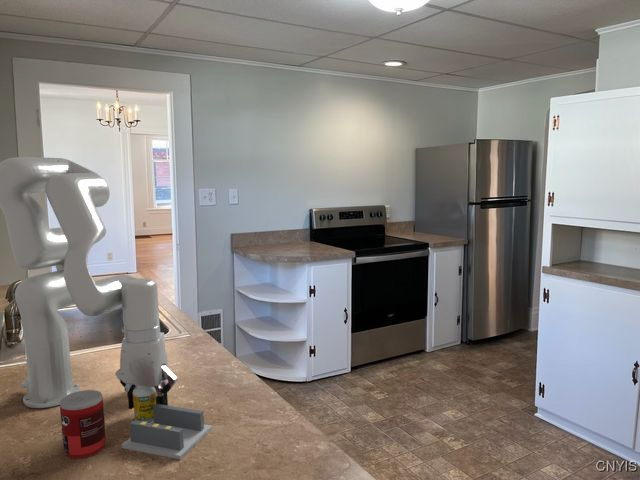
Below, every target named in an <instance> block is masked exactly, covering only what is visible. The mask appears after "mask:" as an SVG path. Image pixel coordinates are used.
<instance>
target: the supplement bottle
mask: <svg viewBox="0 0 640 480" xmlns="http://www.w3.org/2000/svg"><path fill="white" fill-rule="evenodd" d="M135 386H136V387H135V388H134V390H133V402H134V408H133V413H134V421H139V422H147V423H150V422H151V421H153V420H154V415H153V406H154V405H155V404H156V397H157V396H158V394H157V392H156V390H155V388H154V387H146V386H138V385H135Z"/></svg>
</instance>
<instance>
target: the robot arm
mask: <svg viewBox="0 0 640 480" xmlns="http://www.w3.org/2000/svg"><path fill="white" fill-rule="evenodd" d="M36 193H37V194H39V193H41V194H42V193H45V195H46V198H47V200H48V203H49V205H50V207H51V208H52V211H53V213H54V216H55V217H56V220H57V222H58V224H59V226H60V227H52V228H50V227H49V225H48V222H47V217H46V216H47V215H46V213H45V210H44V208H43V206H42V205H41V204H40V203H39V201H38V200H37V199H35V198H34V197H33V196H32V194H36ZM110 195H111V193H110V187H109V185H108V182H107V181H106V180H105V179H104V177H102V176H101V175H100V174H98V172H95V171H93V170H91V169H89V168H87V167H84V166H82V165H80V164H79V163H77V162H74V161H72V160H69V159H67V158H62V157H41V156H40V157H39V156H37V157H36V156H17V157H11V158H10V157H9V158H7V159H4V160H2V161H1V162H0V209H1V211H2V214H3V216H4V220H5V223H6V229H7V234H8V238H9V243H10V246H11V250H12V251H11V252H12V255H13V258H14V261H15V263H16V265H17V267H19V269H21V270H25V271H34V270H35V271H36V270H41V269H47V268H50V267H51V268H52V267H55V268H56V271H50V272H46V273H41V274H36V275H33V276H29V277H27V278H25V279H24V280H22V281H21V282H19V284H18V285H17V287H16V288H15V292H14V299H15V302H16V306H17V309H18V312H19V315H20V319H21V323H22V329H23V331H22V332H23V337H24V338H23V339H24V345H25V347H24V349H25V356H26V369H27V376H26V377H25V378H24V381H22V382H21V383H20V387H21V388H24V389H26V392H27V393H26V394H24V396H23V398H22V401H23V405H24V406H25V407H27V408H30V409H31V408H32V409H47V408H51V407H52V408H53V407H56V406H60V400H61V399H62V398H64V397H65V396H67V395H69V394H71V393H74V392H78V391H81V389H80V385H79V384H77V383H74V382H73V376H72V375H73V373H72V363H71V362H72V361H71V351H70V342H69V341H70V340H69V329H68V324H67V322H66V320H65V319H64V318H63V317H62V316H61V315H60V313H59V312H58V311H59V310H61V309H63V308H67V307H70V306H73V305H75V306H76V308H77V309H78V310H79V311H80V312H81V313H82V314H83V315H85V316H87V317H92V318H93V317H99V316H103V315H105V314H107V313H111V312H113V311H115V310H119V309H122V319H123V326H122V328H121V333H122V334H124V338H125V339H124V340H123V339H122V341H121V347H120V355H119V357H120V358H119V363H120V364H119V369H118V370H117V371H116V372H115V373H114V374H115V376H116V378H117V379H118V381H119V382H120V384H121V386H122V387H123V388H124V389H123V390H124V392H125V393H126V394H127V402H128V403H127V404H128V405H127V406H128V409H129V410H132V409H134V402H133V390H134V388H135V387H136V386H135V385H138V386H146V387H154V388H155V390H156V392H157V394H158V396H157V397H156V404H161V405H167V406H169V405H168V404H169V403H168V402H169V401H168V400H169V399H168V392H170V390H171V389H173V387H174V386H175V384H176V383H177V382H178V377H177V375H175V374H174V373H173V372H172V371H171V370H170V369H169V362H168V361H169V360H168V355H167V354H168V353H167V350H166V344H165V345H164V341H163V338H161V337H160V332H161V326H160V325H161V324H160V323H161V322H160V310H159V297H158V296H159V295H158V285H157V283H156V281H155V280H154V279H151V278H146V277H143V278H137V277H133V276H131V275H128V274H118V275H114V276H109V277H105V278H102V279H98V280H94V279H93V276H92V274H91V271H90V269H89V264H88V261H89V260H88V259H89V258H88V257H89V253H90V251H91V250H92V247H93V246H94V245H96V244H97V243H99V242H100V241H101V240H103V239H104V237H105V236H106V235H107V229H106V226H105V225H104V222H103V220H102V218H101V215H100V214H99V211H98V209H97V208H100V207H103V206H105V205H107V203H108V201H109V199H110ZM166 379H167V380H168V383H166V381H165V380H166ZM159 384H161V386H162V389H161V387H160V385H159Z"/></svg>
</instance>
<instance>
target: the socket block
mask: <svg viewBox="0 0 640 480" xmlns="http://www.w3.org/2000/svg"><path fill="white" fill-rule="evenodd" d="M153 415H154V420H153V421H151V422H149V423H147V422H139V421H136V420H132V421H130V422H129V424H128V425H129V434H130V435H129V436H130V437H129V438H128V439H127V440H126V441H124V442H123V443H122V444H121V449H124V450H130V451H134V452H138V453H139V452H140V453H145V454H150V455H155V456H160V457H166V458H170V459H174V460H180V461H181V460H182V459H183V458H184V457H185V456H186V455H187V454H188V453H189V452H190V451H191V450H192V449H193V448H194V447H196V445H197V444H199V442H201V440H203V439H204V438H205V436H207V434H209V432H211V431H212V430H213V425H211V424H210V425H209V424H205V419H204V417H205V416H204V411H203V410H197V409H191V408H185V407H180V406H179V407H178V406H173V405H168V406H167V405H161V404H155V405H154V406H153Z"/></svg>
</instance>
